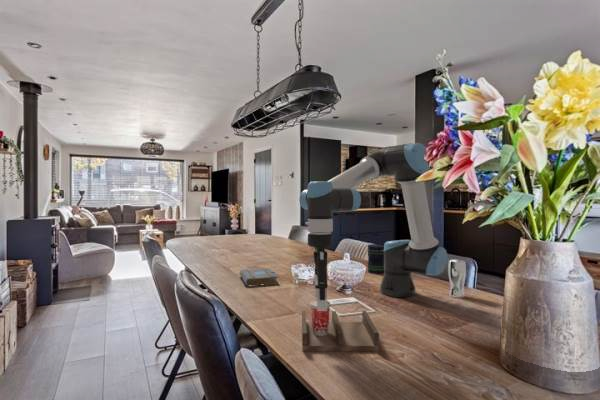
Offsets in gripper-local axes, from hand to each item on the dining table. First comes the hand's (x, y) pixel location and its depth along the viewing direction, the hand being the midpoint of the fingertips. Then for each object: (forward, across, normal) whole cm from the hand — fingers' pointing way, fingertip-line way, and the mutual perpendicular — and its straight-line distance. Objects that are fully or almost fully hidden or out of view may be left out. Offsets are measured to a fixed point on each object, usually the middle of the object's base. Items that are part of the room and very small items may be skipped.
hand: (320, 303), depth 103 cm
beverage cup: (+9, 0, 0) cm, 9 cm away
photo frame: (+11, -29, +12) cm, 33 cm away
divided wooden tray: (+10, 0, +5) cm, 11 cm away
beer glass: (+11, -43, +61) cm, 75 cm away
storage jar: (+11, -89, +37) cm, 97 cm away
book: (+11, -71, -27) cm, 77 cm away
